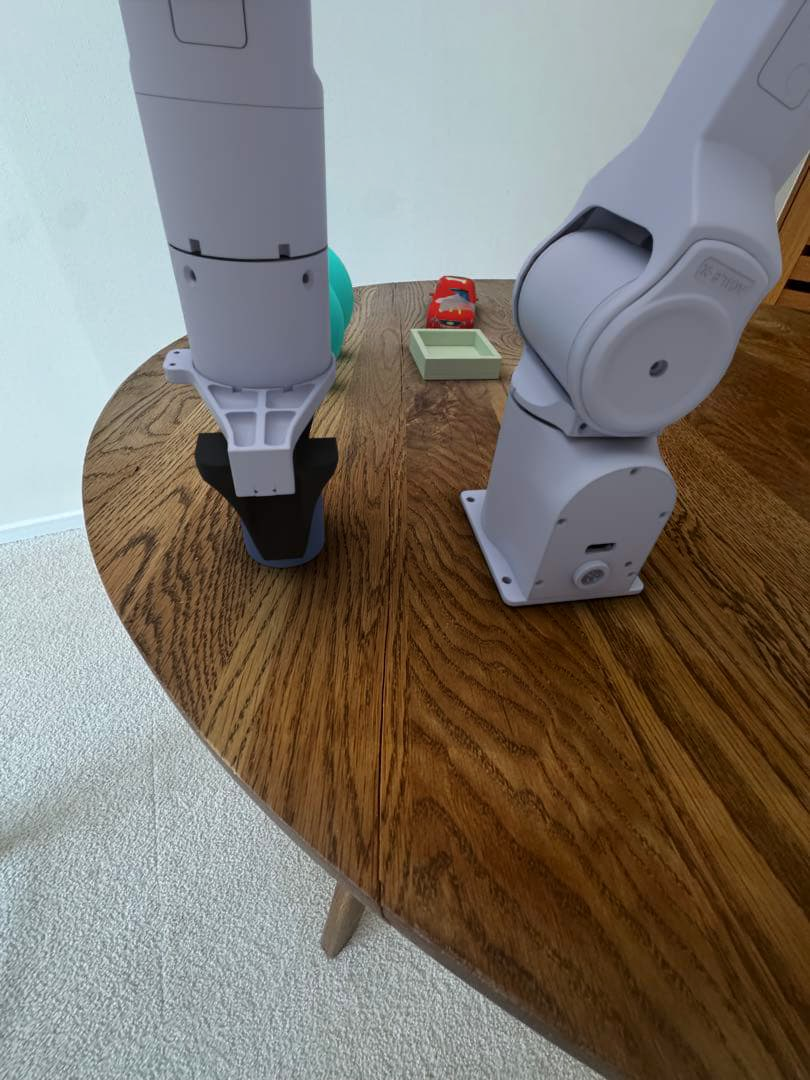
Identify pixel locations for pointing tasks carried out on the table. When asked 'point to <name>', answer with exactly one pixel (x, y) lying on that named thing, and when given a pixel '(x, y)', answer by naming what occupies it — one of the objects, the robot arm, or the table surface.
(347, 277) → the turquoise spool
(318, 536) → the cylinder
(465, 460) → the table surface
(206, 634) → the table surface
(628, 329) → the robot arm
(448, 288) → the race car
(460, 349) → the tray
